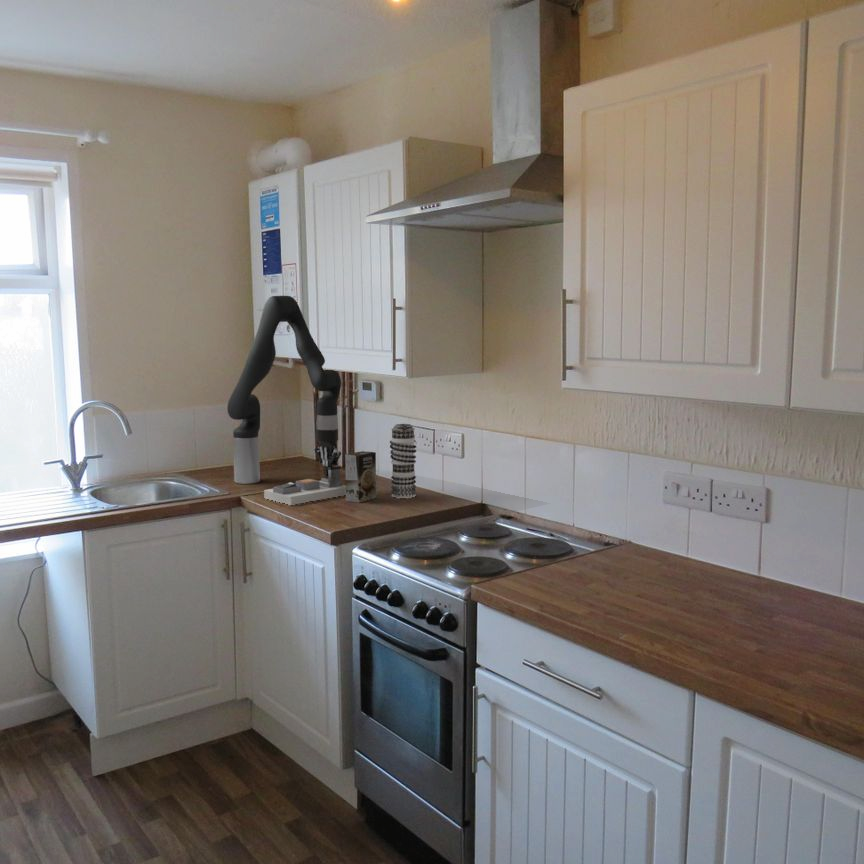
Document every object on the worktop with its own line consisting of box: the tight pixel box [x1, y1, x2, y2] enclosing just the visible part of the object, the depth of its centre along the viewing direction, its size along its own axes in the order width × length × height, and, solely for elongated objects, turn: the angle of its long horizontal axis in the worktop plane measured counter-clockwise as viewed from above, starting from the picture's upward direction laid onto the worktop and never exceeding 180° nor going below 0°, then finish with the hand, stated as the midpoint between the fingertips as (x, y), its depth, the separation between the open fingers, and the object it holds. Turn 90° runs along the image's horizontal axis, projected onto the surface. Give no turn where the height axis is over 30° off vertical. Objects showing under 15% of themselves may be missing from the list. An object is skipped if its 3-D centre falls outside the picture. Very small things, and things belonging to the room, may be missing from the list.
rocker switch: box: [277, 482, 296, 489], centre depth 289 cm, size 4×5×1 cm
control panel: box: [263, 477, 346, 506], centre depth 295 cm, size 16×25×6 cm, turn 134°
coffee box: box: [344, 450, 377, 504], centre depth 289 cm, size 9×6×16 cm
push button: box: [298, 478, 316, 483], centre depth 295 cm, size 4×4×2 cm
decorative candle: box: [389, 423, 417, 499], centre depth 294 cm, size 9×9×25 cm
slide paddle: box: [327, 465, 342, 487], centre depth 298 cm, size 2×4×7 cm, turn 134°
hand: (328, 476), depth 300 cm, fingers closed
